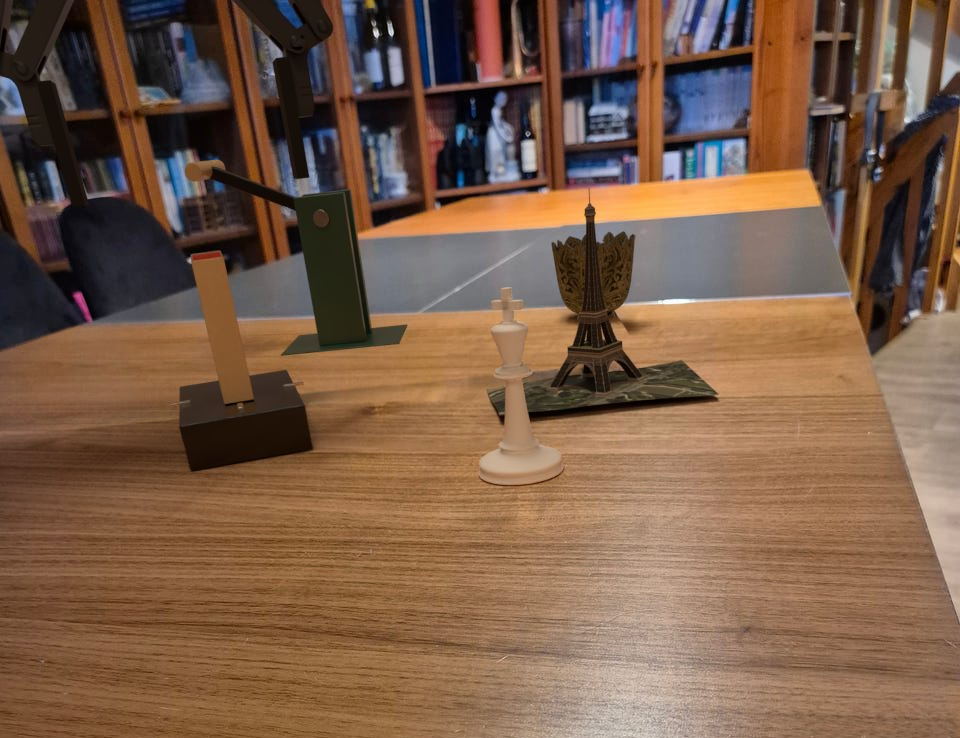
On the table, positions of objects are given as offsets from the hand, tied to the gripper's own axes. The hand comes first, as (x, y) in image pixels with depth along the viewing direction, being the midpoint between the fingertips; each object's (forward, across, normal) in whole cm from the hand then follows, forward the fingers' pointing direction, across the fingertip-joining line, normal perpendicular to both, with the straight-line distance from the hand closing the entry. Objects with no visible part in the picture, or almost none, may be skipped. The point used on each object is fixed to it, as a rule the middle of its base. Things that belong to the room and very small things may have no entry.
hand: (193, 192), depth 58 cm
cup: (+16, +33, +17) cm, 41 cm away
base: (+16, 0, 0) cm, 16 cm away
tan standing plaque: (+13, 0, 0) cm, 13 cm away
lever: (+3, +6, +27) cm, 27 cm away
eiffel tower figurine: (+16, +24, -5) cm, 30 cm away
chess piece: (+16, +14, -18) cm, 28 cm away
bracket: (+16, +11, +25) cm, 32 cm away
